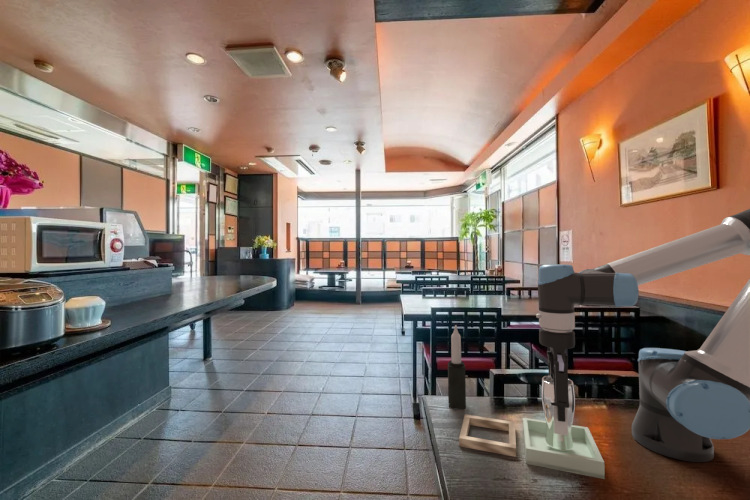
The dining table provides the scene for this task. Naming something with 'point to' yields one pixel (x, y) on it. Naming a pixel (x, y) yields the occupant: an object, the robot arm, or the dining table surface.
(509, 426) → the light wood square frame
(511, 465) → the dining table surface
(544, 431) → the tray
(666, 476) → the dining table surface
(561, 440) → the beer glass
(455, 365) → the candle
